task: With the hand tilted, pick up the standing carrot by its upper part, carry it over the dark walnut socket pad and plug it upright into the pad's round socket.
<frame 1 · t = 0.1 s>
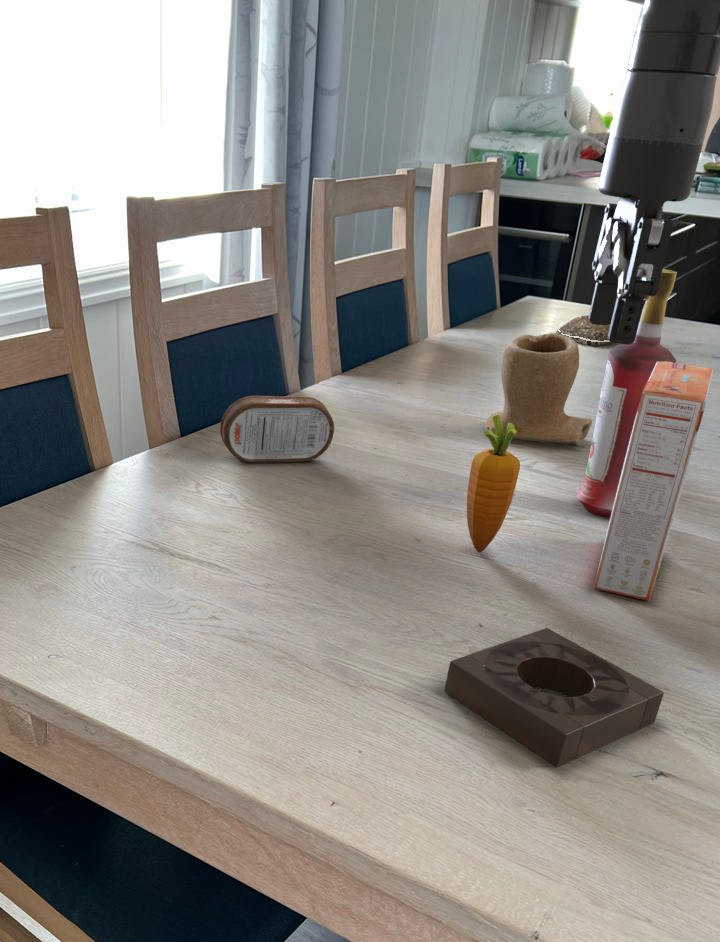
hand: (609, 333, 90), 25 cm above the table, tool pointing down, fingers open, 8 cm apart
socket pad: (547, 707, 80), on the table
brown shell: (586, 340, 209), on the table
carrot: (478, 553, 107), on the table
tin: (275, 462, 129), on the table
stone cup: (534, 441, 144), on the table
cracker box: (626, 573, 105), on the table
liquor: (602, 510, 121), on the table
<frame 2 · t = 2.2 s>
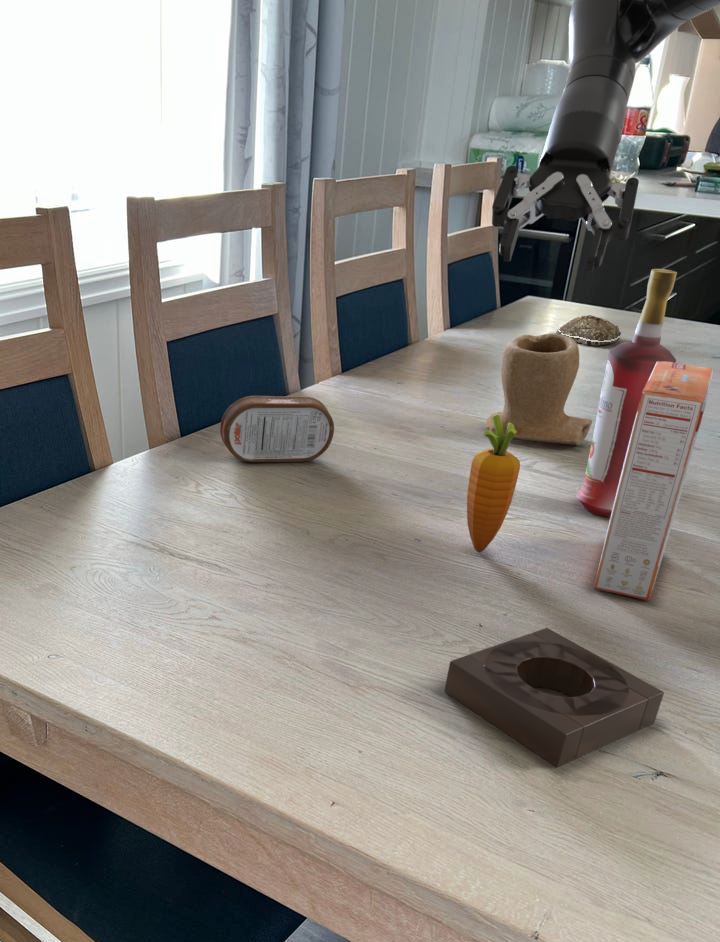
hand: (547, 261, 102), 29 cm above the table, tool tilted 45°, fingers open, 8 cm apart
nothing on the table moved.
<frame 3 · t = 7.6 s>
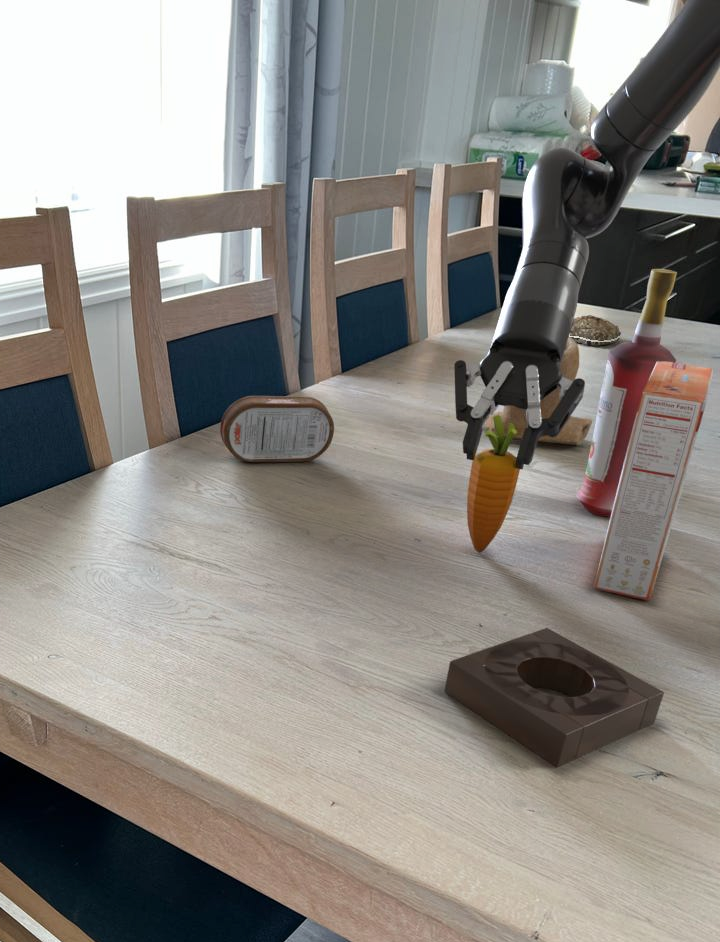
hand: (494, 460, 100), 11 cm above the table, tool tilted 45°, fingers closed on carrot, 4 cm apart
carrot: (478, 553, 107), on the table, touching gripper
everything else where it was.
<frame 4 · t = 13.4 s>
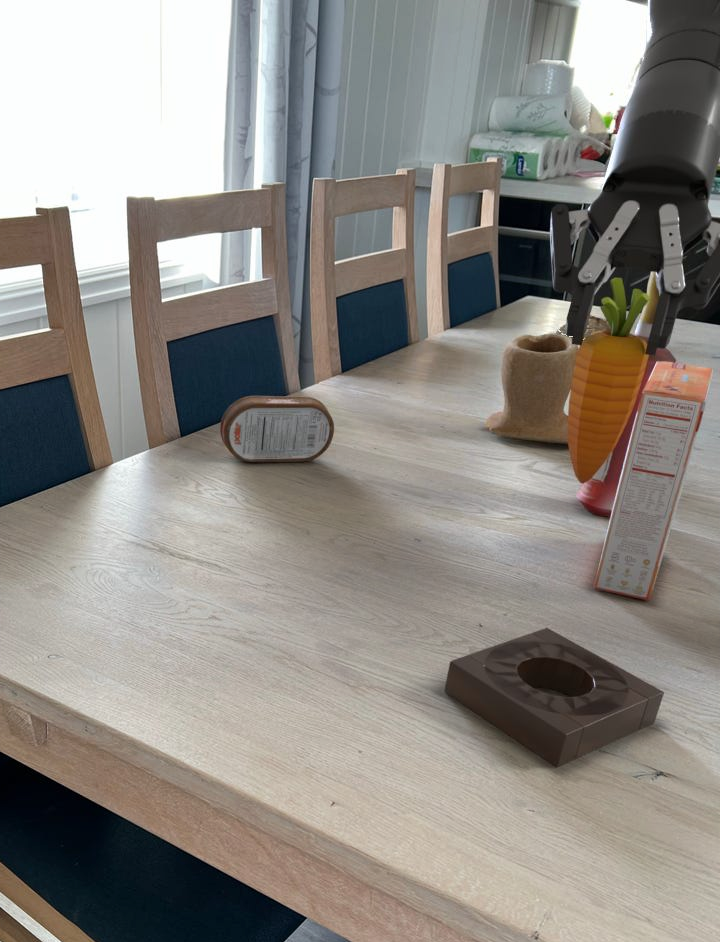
hand: (614, 342, 69), 29 cm above the table, tool tilted 45°, fingers closed on carrot, 4 cm apart
carrot: (581, 485, 76), point 17 cm above the table, touching gripper
everything else where it was.
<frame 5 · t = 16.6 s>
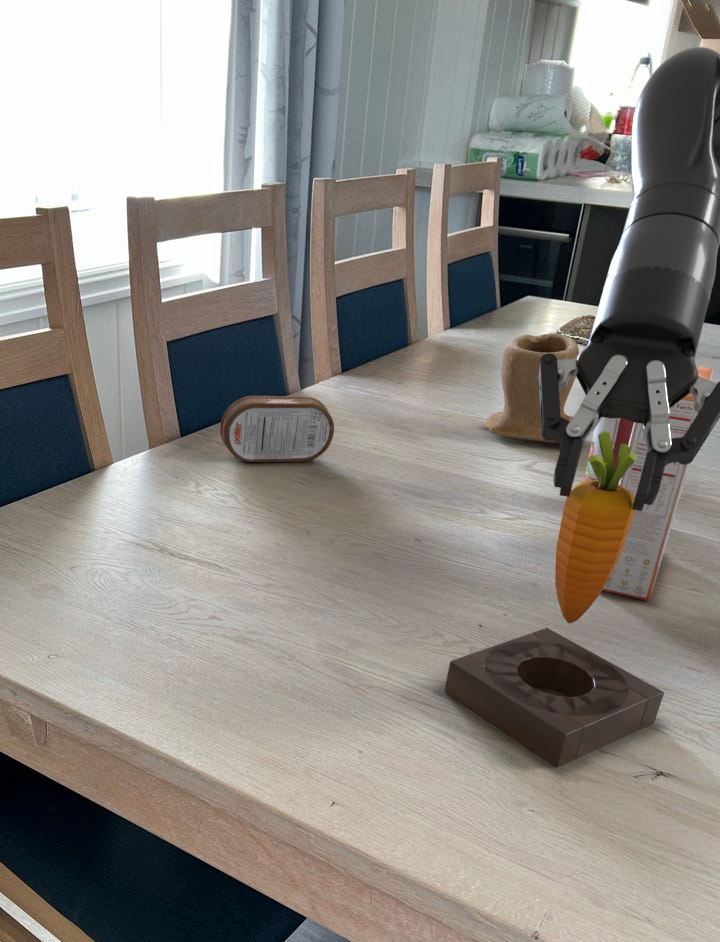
hand: (601, 497, 69), 19 cm above the table, tool tilted 45°, fingers closed on carrot, 4 cm apart
carrot: (568, 624, 76), point 8 cm above the table, touching gripper
everything else where it was.
when the fingers open (11 cm above the table, at t = 19.2 s): carrot stays where it is, resting in socket pad.
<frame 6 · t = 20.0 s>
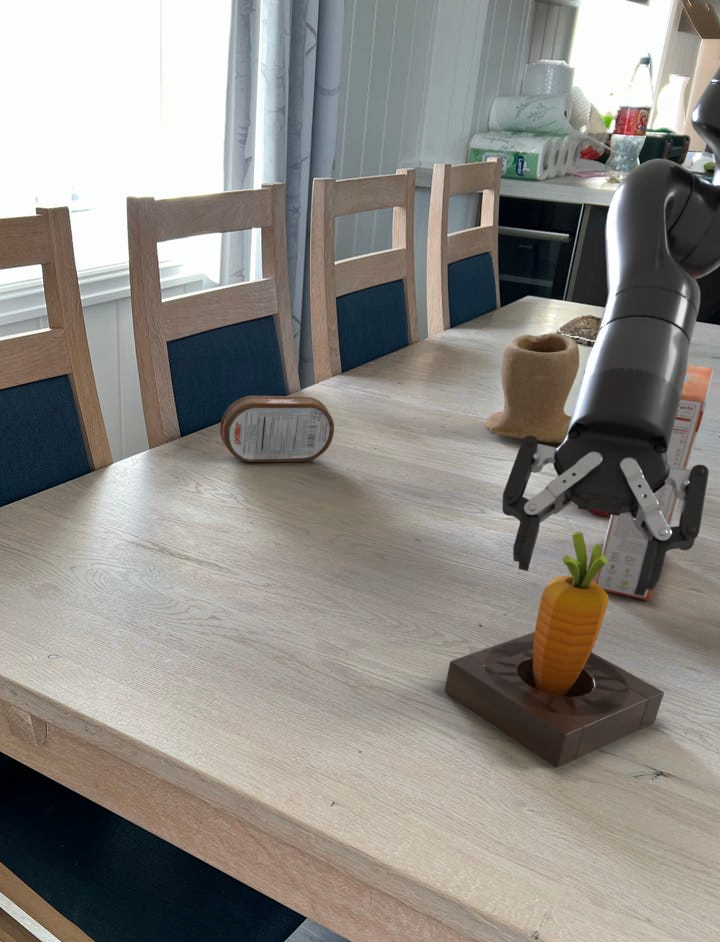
hand: (580, 579, 73), 12 cm above the table, tool tilted 45°, fingers open, 8 cm apart
carrot: (546, 708, 80), resting in socket pad
everything else where it was.
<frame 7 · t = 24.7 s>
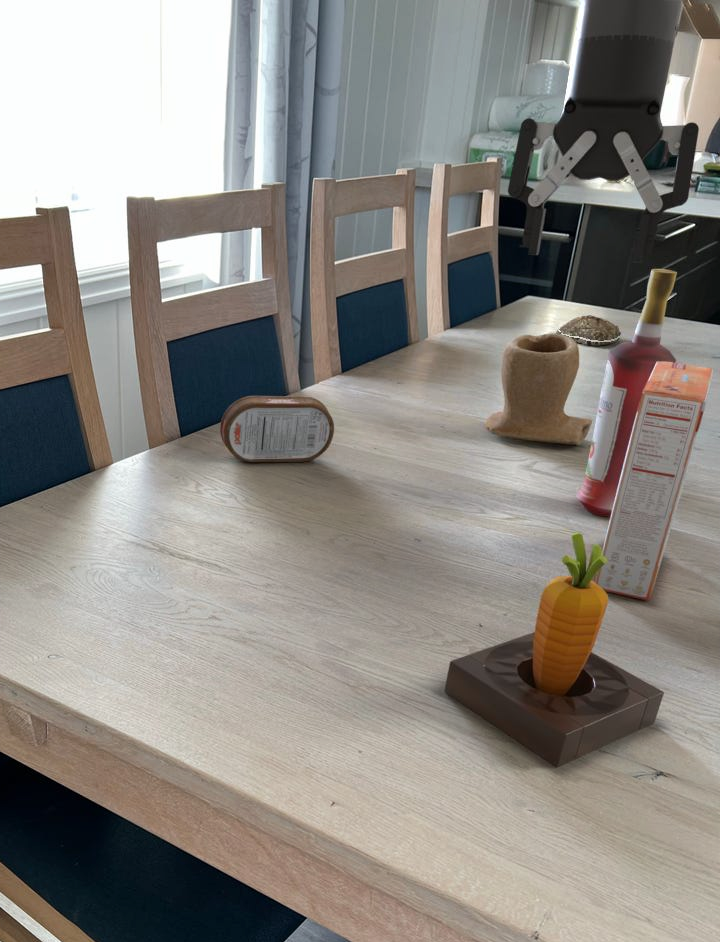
hand: (584, 258, 83), 32 cm above the table, tool pointing down, fingers open, 8 cm apart
nothing on the table moved.
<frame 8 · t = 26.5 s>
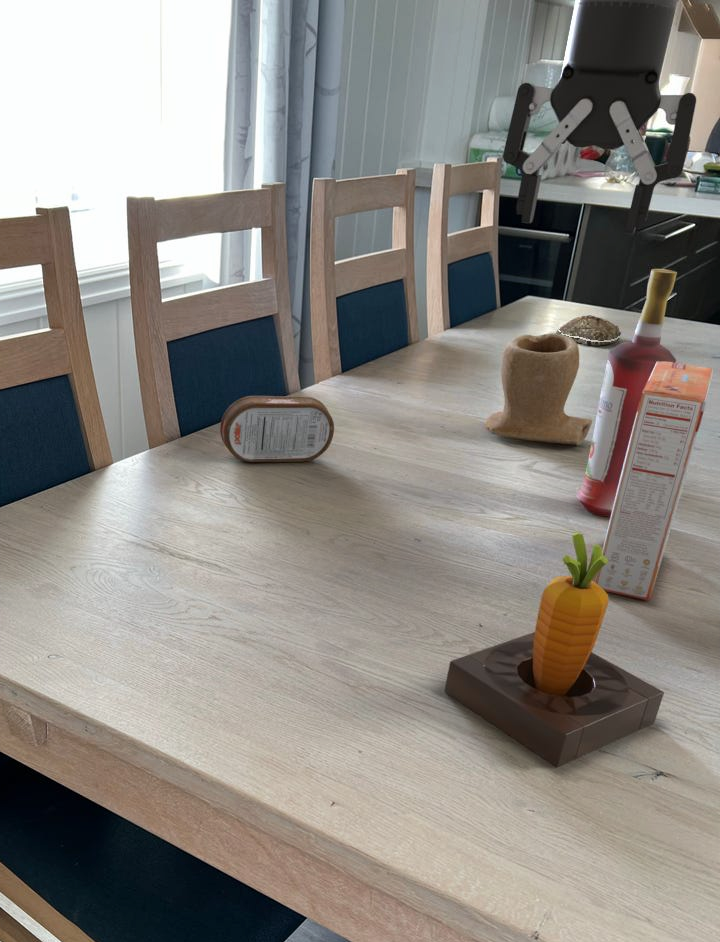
hand: (577, 227, 83), 34 cm above the table, tool pointing down, fingers open, 8 cm apart
nothing on the table moved.
at the end: carrot 0.1 cm off-centre in the socket pad, point 0.0 cm above the socket pad's base; carrot tilted 0°; the gripper is holding nothing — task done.
